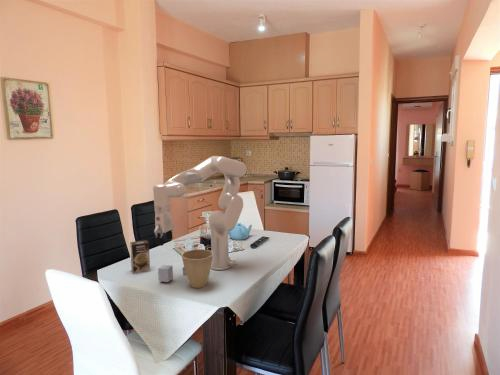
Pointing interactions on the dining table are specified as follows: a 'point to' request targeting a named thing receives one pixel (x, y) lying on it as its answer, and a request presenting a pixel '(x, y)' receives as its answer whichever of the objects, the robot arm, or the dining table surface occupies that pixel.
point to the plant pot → (197, 266)
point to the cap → (165, 273)
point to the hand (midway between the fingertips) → (165, 242)
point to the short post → (184, 271)
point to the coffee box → (140, 256)
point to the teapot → (239, 232)
